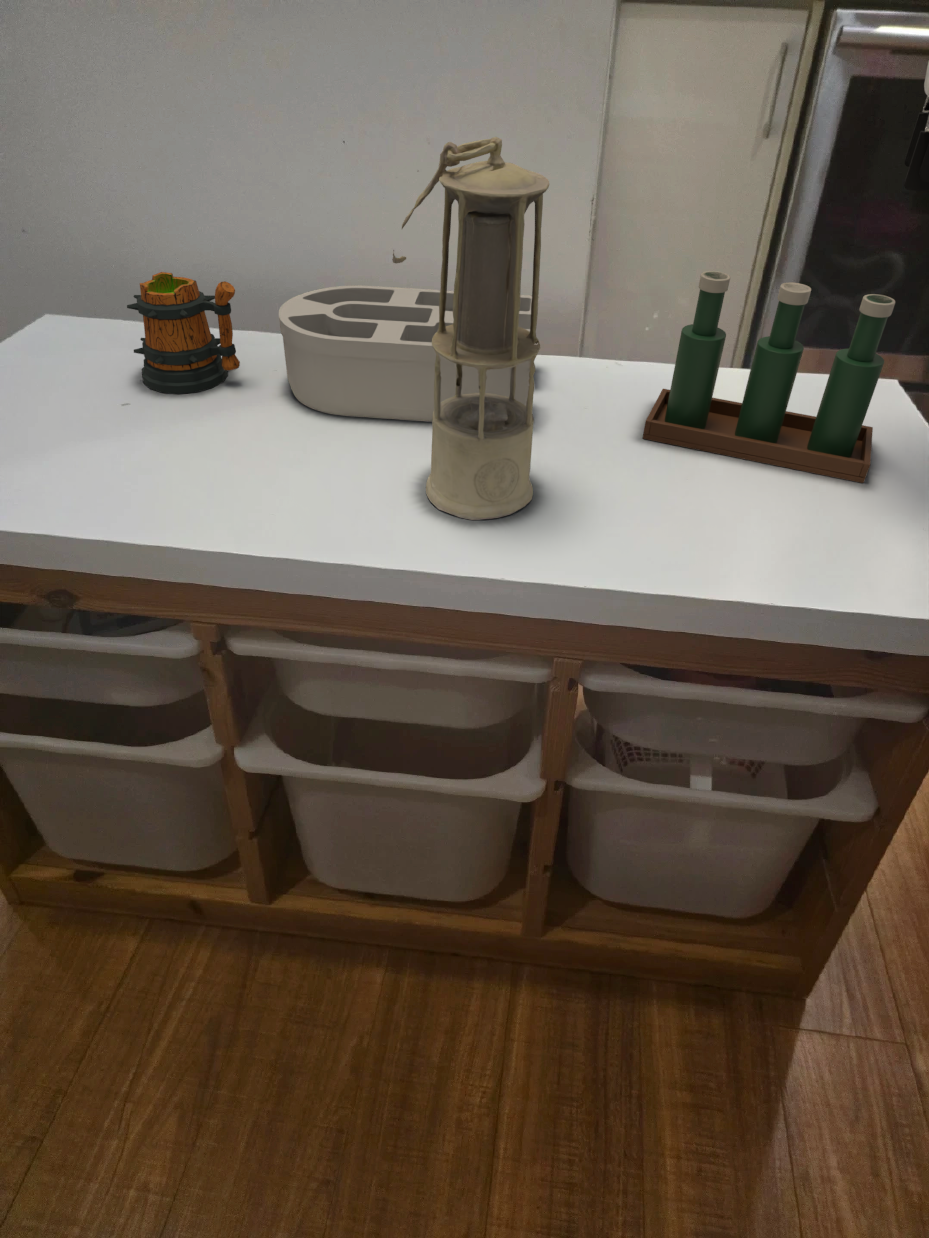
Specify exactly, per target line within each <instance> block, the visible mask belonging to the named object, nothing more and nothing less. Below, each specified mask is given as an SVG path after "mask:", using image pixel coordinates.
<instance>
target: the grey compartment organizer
mask: <svg viewBox="0 0 929 1238" xmlns="http://www.w3.org/2000/svg"><path fill="white" fill-rule="evenodd" d="M453 295H454V290H449V289H447V295H446V308H445V318H444V321H445V326H449V325H452V324H453V321H454V319H453ZM439 297H440V289H428V288H414V287H412V288H410V287H395V286H378V285H358V284H357V285H356V284H355V285H340V286H339V285H338V286H330V287H323V288H319V289H314V290H310V291H306V292H303V293H301V294H298V295H296V296H293V297H291V298H290V299H288V300H286V301H285V302H283V304H282V305H281V306H280V307H279V310H278V320H279V331H280V334H281V336H282V343H283V351H284V352H283V353H284V360H285V368H286V377H287V378H286V379H287V381H288V383H289V386H290V389H291V391H292V393H293V396H294V397H295V399H297V401H298V402H300V403H301V404H302V405H304V406H306V407H307V408H309V409H312V410H315V411H318V412H320V413H324V414H328V415H335V416H342V417H343V416H344V417H345V416H346V417H355V418H370V419H371V418H374V419H385V420H387V419H388V420H398V421H399V420H401V421H413V422H414V421H415V422H427V423H428V422H430V423H432V419H433V412H434V379H435V360H436V352H435V350H434V348H433V346H432V338H433V336H434V335H435V333H436V332H437V331H438V329H439ZM531 302H532V294H531V295H530V294H520V311H519V324H518V327H522V328H524V329H526V330H528V331H529V332H530V327H531ZM539 302H540V295H538V305H539V304H540V303H539ZM538 315H539V314H538ZM538 315H537V317H539V316H538ZM534 345H536V343H535V344H534ZM440 359H441V361H440V364H441V365H440V366H441V367H440V372H441V374H440V376H441V398H440V403H441V402H443V401H444V400H446V399H449V398H451V397H454V396H455V391H456V363H453V362H451V361H449V360H447V359H445V358H443V357H442V356H441V357H440ZM529 372H530V369H529V361H525V362H523V363H521V364H519V365H517V367H516V387H515V396H514V399H515V400H517V401H519V402H521V403H522V404H524V405H525V406H526V401H527V397H528V390H529V387H528V386H529ZM478 375H479V374H478V370H477V369H476V368H474V367H468V366H465V365H462V389H461V395H463V394H471V393H479V384H478V383H479V379H478ZM486 376H487V379H486V387H485V393H491V394H497V395H502V396H506V397H509V396H510V379H511V368H510V367H508V368H503V369H491V370H487V372H486Z"/></svg>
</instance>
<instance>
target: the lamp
mask: <svg viewBox="0 0 929 1238" xmlns="http://www.w3.org/2000/svg"><path fill="white" fill-rule="evenodd" d="M502 148H503V139H502V138H500V137H498V136H494V137H491V138H484V139H479V140H478V139H477V140H474V141H469V142H465V143H462V144H459V145H457V144H456V143H455V142H452V141H448V142H446V143H445V144H444V145H443V148H442V150H441V152H440V154H439V156H440V157H439V163H438V168H437V169H436V171H435V173H434V175H433V177H432V178H431V180H430V182H429V183H428V184H427V185H426V187H425V188H424V190H422V191H421V193H420V194H419V195H418V197H417V199H416V200H415V204H414V206H413V208H412V209H410V211H409V213H408V214H407V215H406V216H405V218H404V220H403V222H402V224H401V230H403V229H404V227H406V226H407V225H406V224H407V223H408V222H409V221H410V218H411V217H412V215H413V214H414V211H415V210H416V209H417V208H418V207H419V206H420V205H421V204H422V203H423V202H424V200H425V199H426V198H427V197H428V196H429V195H430V194H431V192H432V191H433V190H434V188H435V186H436V185H437V184H438V183H440V184H441V185H442V187H443V188H444V205H443V207H444V209H443V222H442V239H441V240H442V249H441V257H442V259H441V268H440V269H441V270H440V289H439V290H440V297H439V329H438V331H437V332H436V333H435V335H434V336H433V338H432V346H433V348H434V350H435V352H436V360H435V379H434V412H433V419H432V422H431V424H432V428H431V429H432V431H431V433H432V434H431V457H430V473H429V475H428V477H427V479H426V483H425V495H426V496H427V498H428V500H429V502H431V503H432V504H433V505H434V507H435V508H436V509H437V510H439V511H441V512H444V513H447V514H449V515H452V516H455V517H458V518H461V519H466V520H471V521H479V520H491V519H499V518H503V517H506V516H510V515H512V514H514V513H516V512H518V511H520V510H521V509H523V508H525V507H526V506H527V505H528V504H529V503H530V502H531V501H532V500H533V496H534V488H533V485H532V481H531V480H530V474H531V463H532V462H531V460H532V450H533V433H534V424H535V423H534V422H535V419H534V415H533V407H534V394H535V379H534V375H535V373H536V364H535V360H536V359H537V356H538V354H539V352H540V350H541V344H540V340H539V338H538V337H537V324H538V316H537V315H539V304H538V296H540V295H539V293H540V273H541V272H540V271H541V270H540V269H541V254H542V253H541V250H542V220H543V207H544V206H543V205H544V203H543V202H544V193H546V192H547V190H548V189H549V187H550V180H549V179H548V178H547V177H546V176H544V175H543V174H540V173H538V172H536V171H532V170H529V169H526V168H523V167H521V166H519V165H517V164H516V163H513V162H506V161H505V160H504V159H503V157H502V156H501V153H502ZM488 154H489V156H488V159H487V160H482V161H481V160H480V161H476V162H472V163H468V164H465V165H461V166H458V165H460V163H461V162H466V161H469V160H473V159H476V158H479V157H482V156H485V155H488ZM455 166H457V167H455ZM447 167H453V168H450V169H448V170H447ZM455 201H456V202H457V205H458V207H457V211H458V212H457V218H458V219H457V220H458V232H457V248H456V265H455V267H456V268H455V277H454V284H453V291H454V295H453V319H454V321H453V324H452V325H449V326H445V321H444V318H445V308H446V295H447V290H448V278H449V277H448V276H449V255H450V254H449V252H450V251H449V250H450V237H451V229H452V228H451V227H452V225H451V224H452V210H453V209H452V207H453V204H454V202H455ZM533 203H534V239H533V240H534V241H533V260H532V288H531V295H532V302H531V327H530V332H529V331H528V330H526V329H524V328H522V327H518V324H519V311H520V295H521V292H522V291H521V290H522V289H521V288H522V287H521V285H522V272H523V271H522V268H523V257H524V256H523V255H524V253H523V252H524V237H525V236H524V234H525V214H526V213H527V210H528V209H529V207H530V205H531V204H533ZM391 259H392V264H397V265H398V264H402V263H404V262H405V261H406V260H407V256H406V255H405V256H403V255H402V256H400V257H396V255H395V249H393V251H392V258H391ZM534 344H535V345H534ZM441 356H442V357H443V358H445V359H447V360H449V361H451V362H453V363H456V391H455V396H454V397H451V398H449V399H446V400H444V401H443V402H441V403H440V398H441V376H440V374H441V372H440V367H441V366H440V365H441V364H440V361H441V359H440V357H441ZM525 361H529V369H530V372H529V386H528V387H529V390H528V397H527V401H526V406H525V405H524V404H522V403H521V402H519V401H517V400H515V399H514V396H515V387H516V367H517V365H519V364H521V363H523V362H525ZM462 365H465V366H468V367H474V368H476V369H477V370H478V374H479V375H478V379H479V383H478V384H479V393H471V394H463V395H461V389H462ZM508 367H510V368H511V379H510V396H509V397H506V396H502V395H497V394H491V393H485V387H486V379H487V376H486V372H487V370H491V369H503V368H508Z"/></svg>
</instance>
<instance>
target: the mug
mask: <svg viewBox="0 0 929 1238" xmlns="http://www.w3.org/2000/svg"><path fill="white" fill-rule="evenodd" d="M151 277H152V278H151V279H150V280H147V281H145V282H139V289H140V291H139V292H140V294H133V298H134V299H136V302H134V303H129V304H127V305H126V309H129V310H135V311H138V314H140V315H142V320H143V321H142V322H143V329H144V337H140V339H139V340H140V341H141V342H142V344H141V345H142V346H141V347H139V348H135V349H133V353H134V354H139V355H143V357H144V359H143V367H142V368H141V378H142V382H143V384H144V385H145V386H146V387H147V388H148V389H150V390H151V391H155V392H160V393H163V394H173V395H182V394H193V393H199V392H202V391H206V390H210V389H213V388H215V387H217V386H218V385H220V384H222V383H224V381H225V380H226V379H227V378H228V376H229V374H228V371H233V370H234V371H235V370H237V369H238V368H240V366H241V362H240V360H239V358H238V357H237V356H236V353H237V349H236V345H235V343H233V337H234V332H233V331H234V330H233V323H232V318H231V313H232V306H231V302H230V301H231V300H232V299H233V298H234V296H235V293H236V289H235V287H234V285H232V283H230V282H228V281H220V282H219V283H217V286H216V287H215V290H214V295H205V294H204V292H203V291H200V289H199V287H198V283H197V281H196V280H195V279H194V280H193V278H189V277H184V276H174V275H173V272H167V271H166V272H165V271H160V272H157V273H155V274H152V276H151ZM213 300H214V301H213ZM206 311H210V312H213V313H214V315H217V322H218V334H219V337H215V335H214V334H213V333H212V332H211V329H210V326H209V321H208V318H207V315H206Z"/></svg>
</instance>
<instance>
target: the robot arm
mask: <svg viewBox="0 0 929 1238" xmlns="http://www.w3.org/2000/svg"><path fill="white" fill-rule="evenodd" d="M923 88H924V89H923V90H924V93H925V95H926V99H925V101H924V104H923V108H922V112H918V115H917V118H916V122H915V124H914V128H913V131H912V135H911V139H910V142H909V145H908V148H907V152H906V155H905V158H904V166H906V167H908V170H907V174H906V176H905V179H904V183H903V186H904V189H905V190H907V191H915V192H924V193H929V61H927V66H926V72H925V77H924V83H923Z"/></svg>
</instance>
